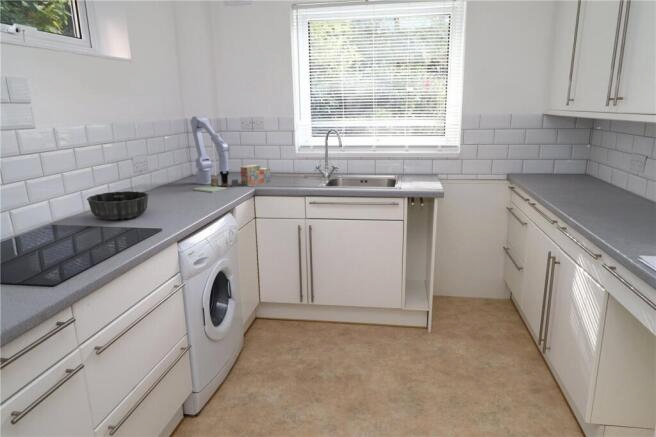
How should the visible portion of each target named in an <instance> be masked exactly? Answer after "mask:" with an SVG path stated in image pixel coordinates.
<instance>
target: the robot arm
mask: <svg viewBox="0 0 656 437" xmlns="http://www.w3.org/2000/svg"><path fill="white" fill-rule="evenodd" d="M190 126H191V132H192V136H193V140H194V141H193V142H194V144H195V149H196V152H197V158H195V168H196V169H197V170H196V172H195V184H197V185H204V186H207V185H209V184H210V185H211V179H212V178H211V170H212V168H213V162H212V160H211V157H210V156H208V155H207V152H206V147H205V142H204V139H203V134H202V131H203V130H204V131H205V132H206V133H207V134H208V135H209V136H210V140H211V141H212V143H213V144H214V145H215V149H216V153H217V155H218V167H219V168H218V170H219V174H220V178H221V177H222V181H223V184H225V183H227V177H228V176H229V174H230V173H229V171H230V170H231V168H230V167H229V154H228V153H229V151H230V145H229V143H228V142H226V141H224V140H223V139H222V137H221V135H220V134H219V133H216V132H215V131H214V128H213V127H212V126H211V124H210V120H209V119H208V117H207V116H206V115H203V116H192V117H191V119H190ZM228 178H229V177H228Z"/></svg>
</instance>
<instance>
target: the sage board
mask: <svg viewBox="0 0 656 437" xmlns="http://www.w3.org/2000/svg"><path fill="white" fill-rule="evenodd" d="M226 189H227V187H223V186H222V187H221V186H218V187H216V186H211V185H203V186H198V187H195V188H194V187H193V188H192V190H193V191H196V192H206V193H217V192H220V191H225V190H226Z"/></svg>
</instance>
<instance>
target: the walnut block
mask: <svg viewBox="0 0 656 437" xmlns="http://www.w3.org/2000/svg"><path fill="white" fill-rule="evenodd" d="M220 181H221V183H220V184H221V186H222V187H223V186H229V177H227V183H225V184H223V181H222V177H221V176H220Z"/></svg>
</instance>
